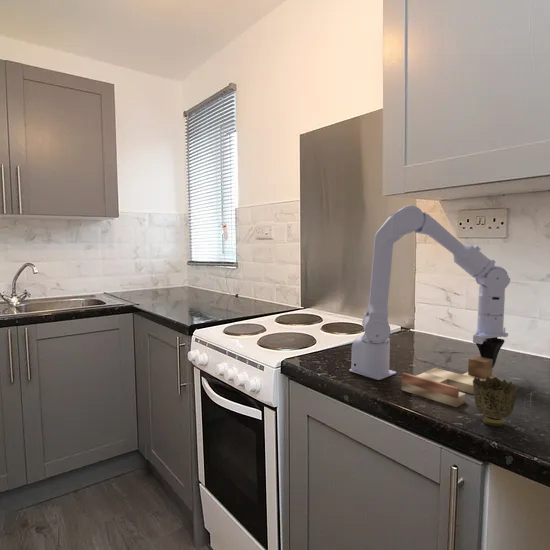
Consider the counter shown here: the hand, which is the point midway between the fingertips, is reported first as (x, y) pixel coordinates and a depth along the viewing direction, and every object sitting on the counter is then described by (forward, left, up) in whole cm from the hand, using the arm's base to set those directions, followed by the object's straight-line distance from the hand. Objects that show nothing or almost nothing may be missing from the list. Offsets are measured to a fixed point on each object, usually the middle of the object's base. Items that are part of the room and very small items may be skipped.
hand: (488, 367), depth 101 cm
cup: (+11, -25, -3) cm, 28 cm away
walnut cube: (0, -5, -1) cm, 5 cm away
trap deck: (-3, -12, -3) cm, 13 cm away
